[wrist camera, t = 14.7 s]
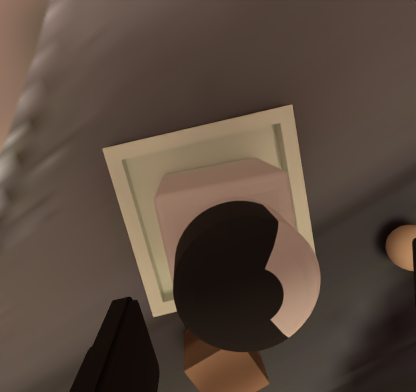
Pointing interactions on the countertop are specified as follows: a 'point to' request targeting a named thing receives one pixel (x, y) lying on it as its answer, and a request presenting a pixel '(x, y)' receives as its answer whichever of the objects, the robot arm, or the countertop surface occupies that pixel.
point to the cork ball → (401, 246)
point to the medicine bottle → (236, 254)
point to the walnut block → (222, 367)
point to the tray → (192, 159)
